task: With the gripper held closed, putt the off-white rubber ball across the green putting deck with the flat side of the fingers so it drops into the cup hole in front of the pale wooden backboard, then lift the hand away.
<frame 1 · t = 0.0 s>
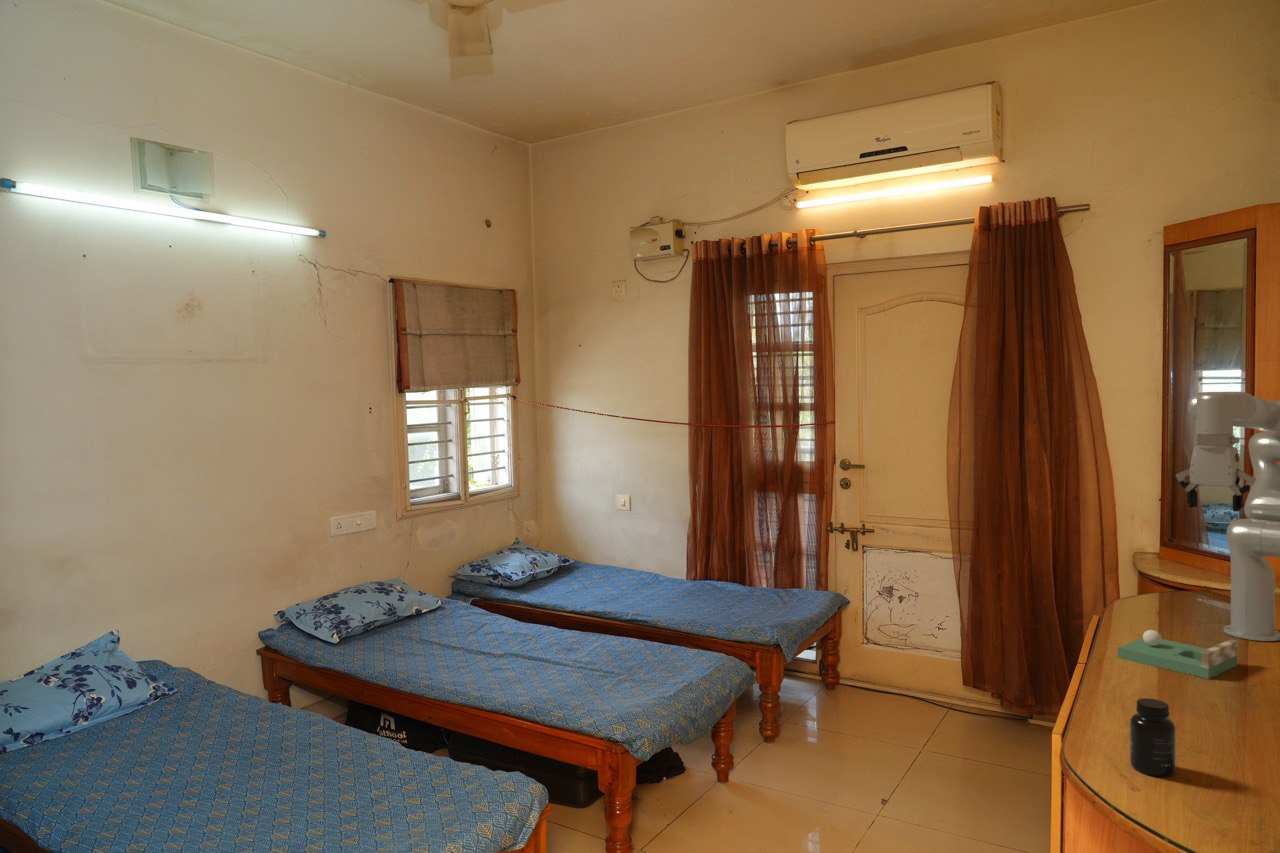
hand: (1214, 508, 204), 37 cm above the dresser, tool pointing down, fingers open, 9 cm apart
putting green: (1176, 661, 199), on the dresser
ball: (1152, 638, 203), point 4 cm above the dresser, touching putting green
supplement bottle: (1152, 770, 142), on the dresser
backboard: (1219, 653, 191), on the putting green, point 4 cm above the dresser
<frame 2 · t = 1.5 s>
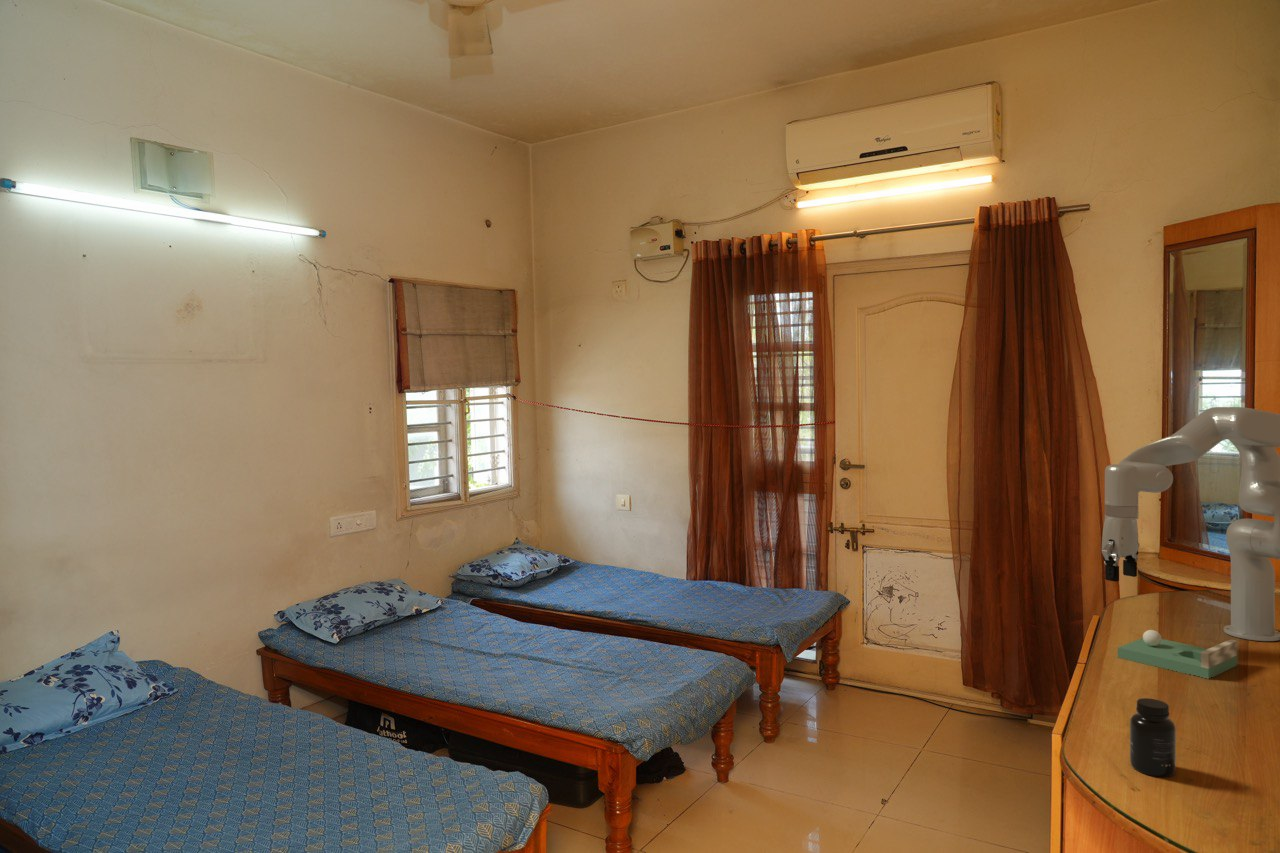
hand: (1121, 578, 209), 18 cm above the dresser, tool pointing down, fingers open, 8 cm apart
nothing on the dresser moved.
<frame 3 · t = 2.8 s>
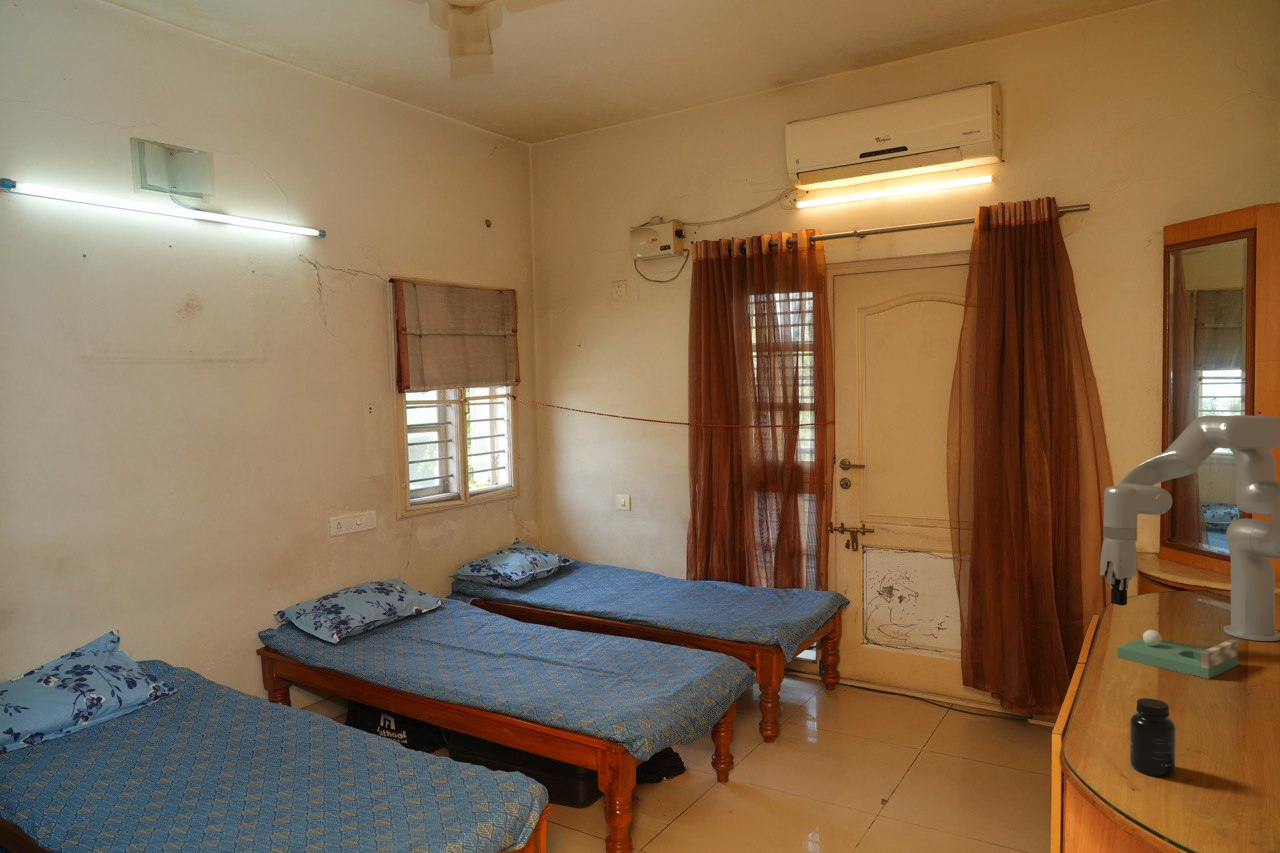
hand: (1118, 604, 209), 12 cm above the dresser, tool pointing down, fingers closed
nothing on the dresser moved.
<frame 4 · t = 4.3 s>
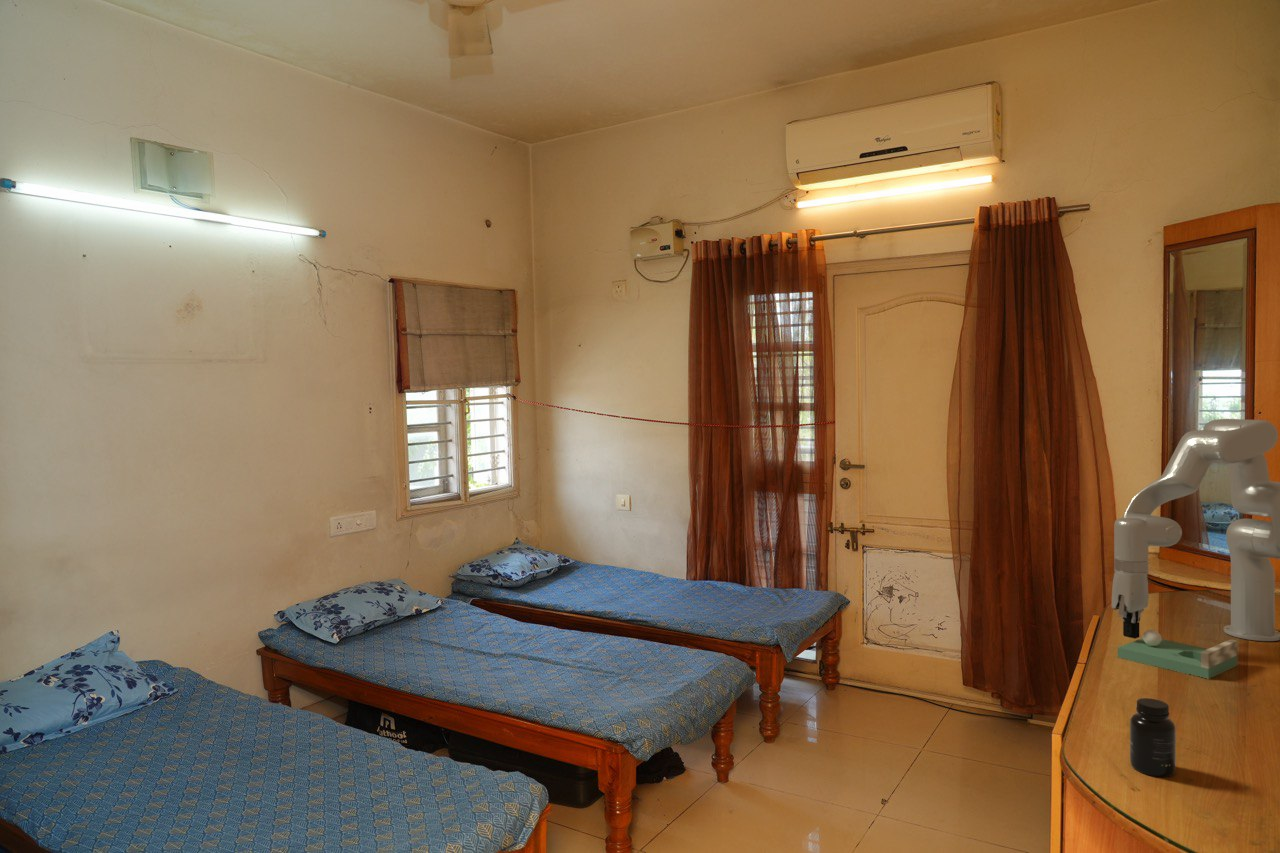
hand: (1131, 636, 207), 4 cm above the dresser, tool pointing down, fingers closed
nothing on the dresser moved.
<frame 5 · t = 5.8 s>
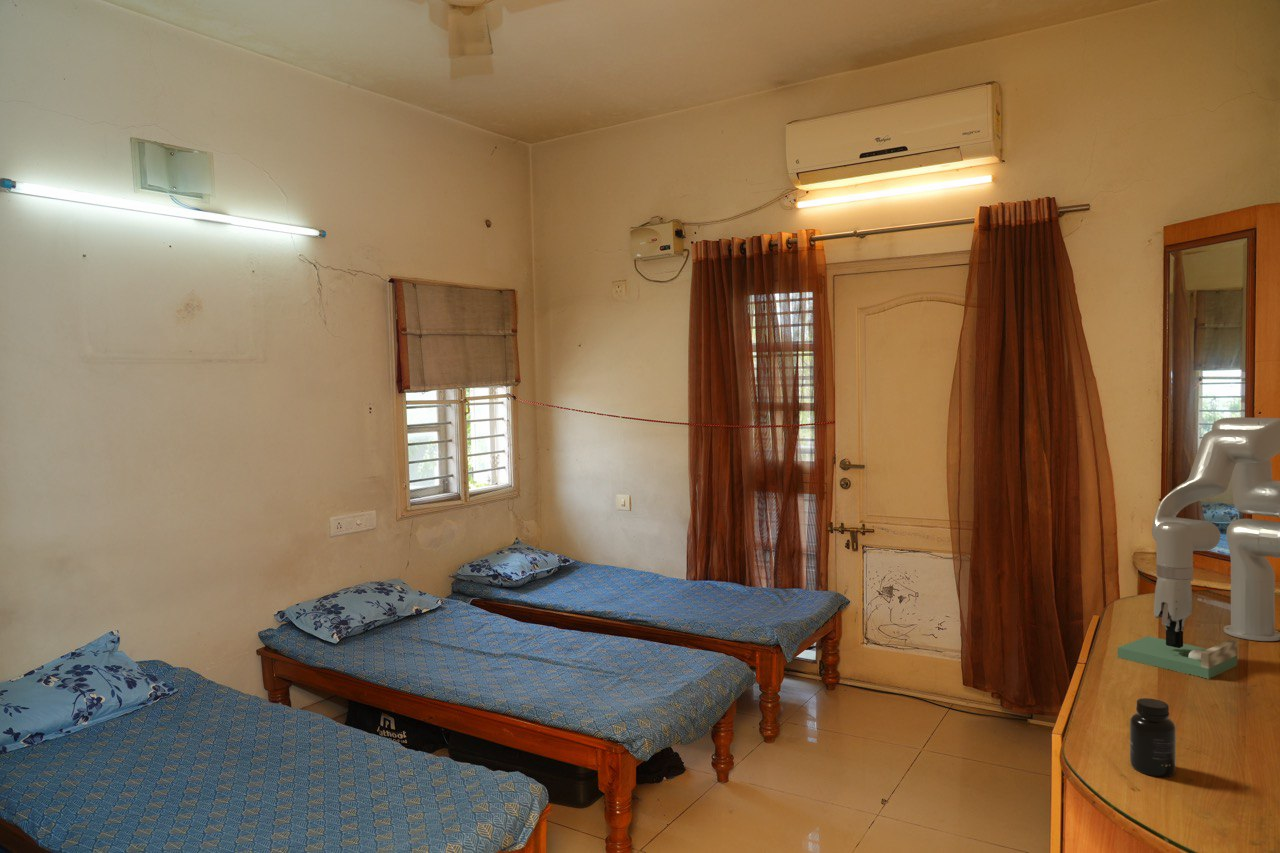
hand: (1174, 646, 199), 4 cm above the dresser, tool pointing down, fingers closed
ball: (1198, 657, 195), point 2 cm above the dresser, tilted 42°
everything else where it was.
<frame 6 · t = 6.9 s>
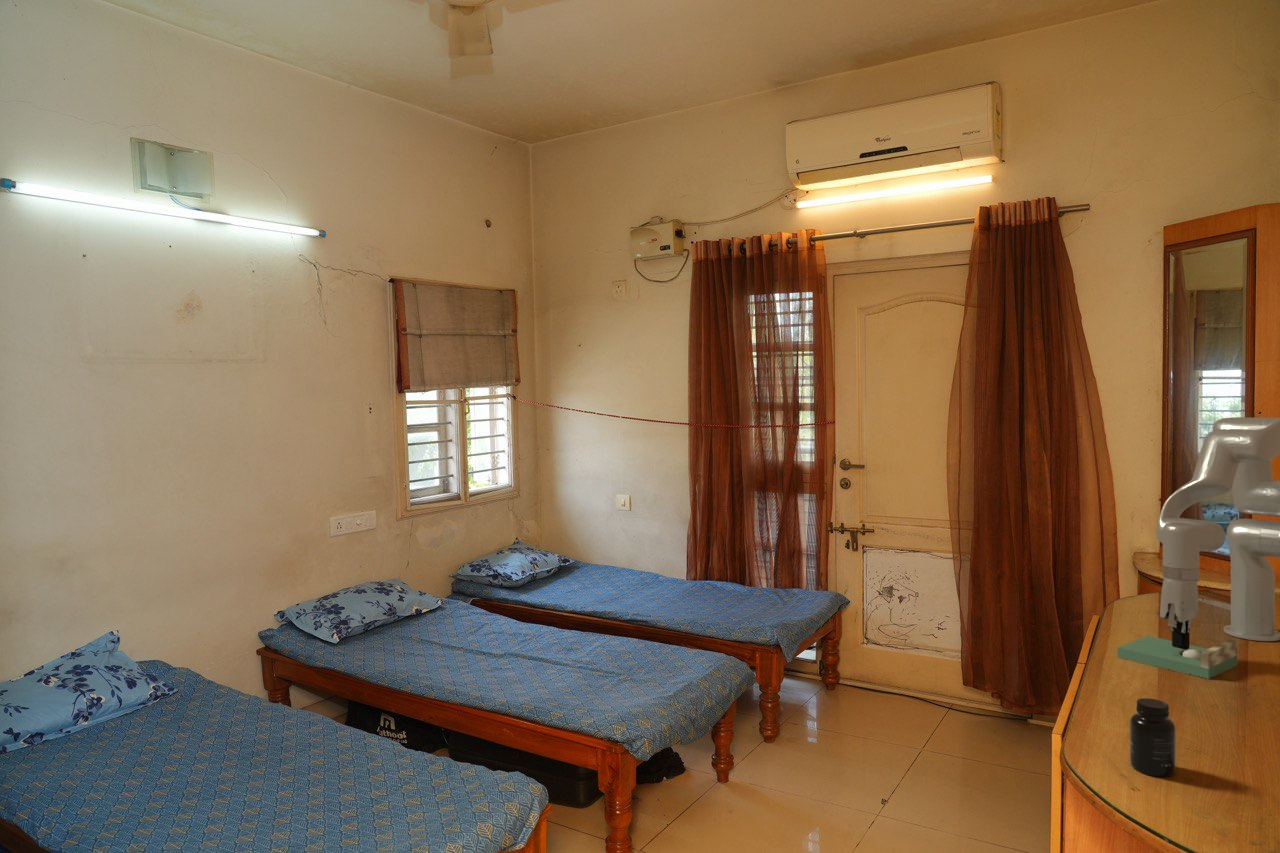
hand: (1180, 647, 198), 4 cm above the dresser, tool pointing down, fingers closed
ball: (1192, 656, 196), point 2 cm above the dresser, tilted 79°
everything else where it was.
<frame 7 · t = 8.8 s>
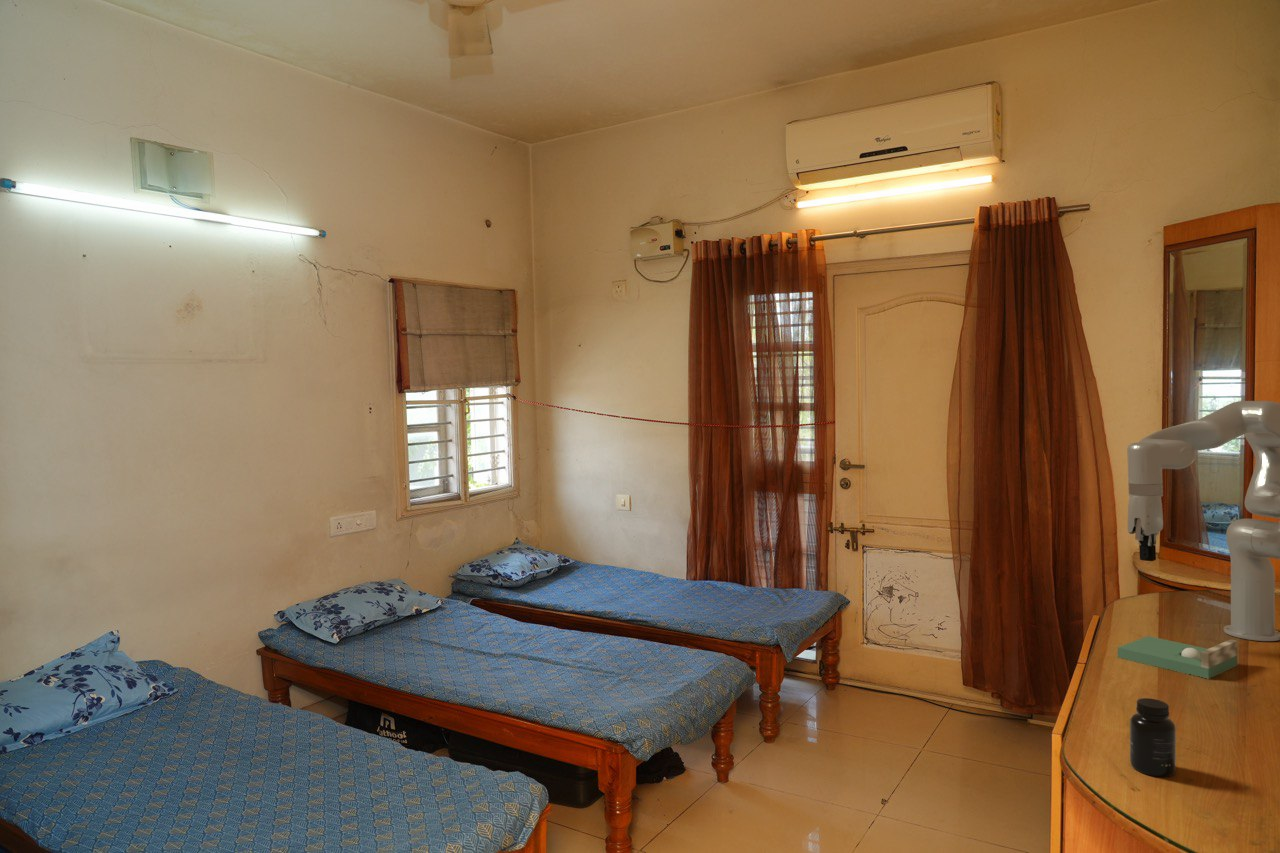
hand: (1147, 560, 209), 23 cm above the dresser, tool pointing down, fingers closed
ball: (1191, 656, 196), point 2 cm above the dresser, tilted 87°
everything else where it was.
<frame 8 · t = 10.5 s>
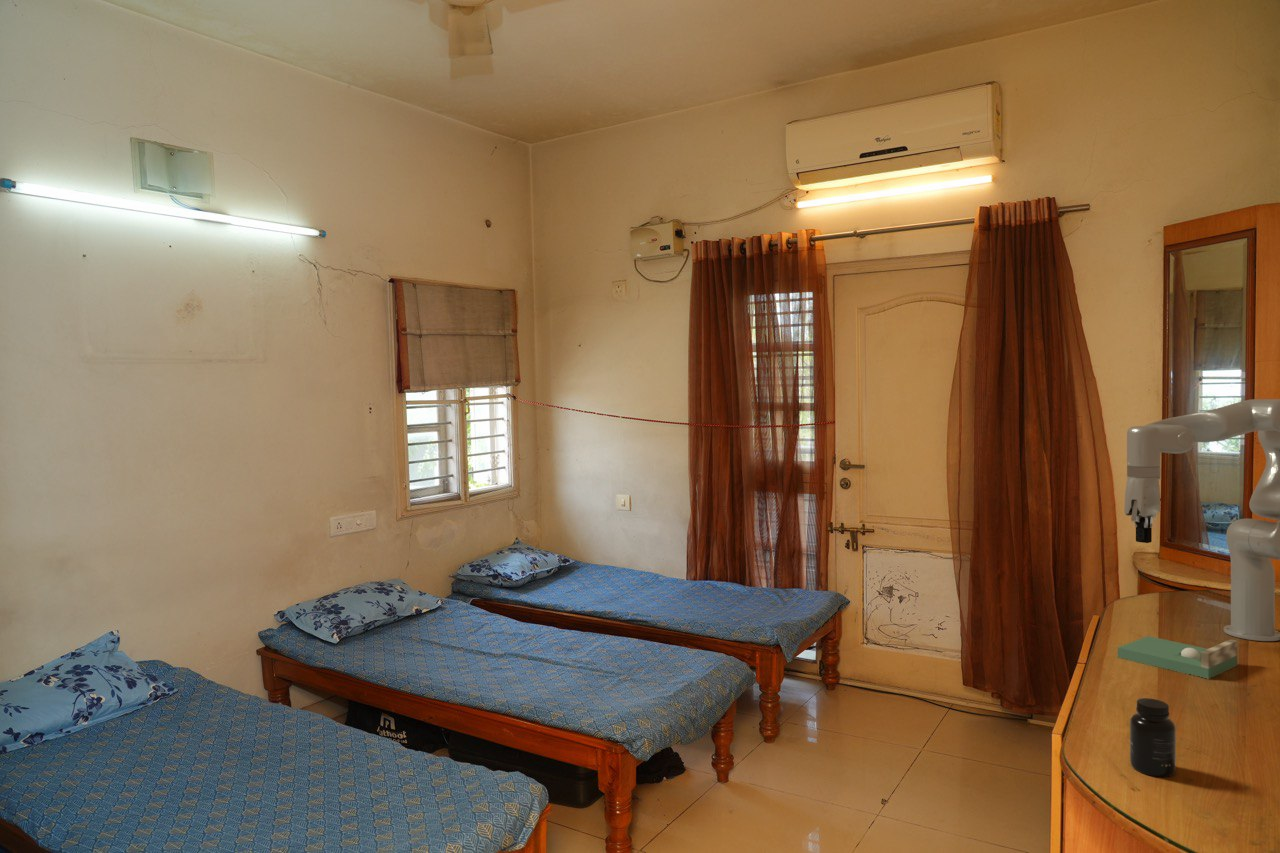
hand: (1143, 541, 212), 27 cm above the dresser, tool pointing down, fingers closed
nothing on the dresser moved.
at the end: ball 1.0 cm from the target spot on the putting green, point 2.0 cm above the putting green's base; ball moved 8.9 cm from its start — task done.
